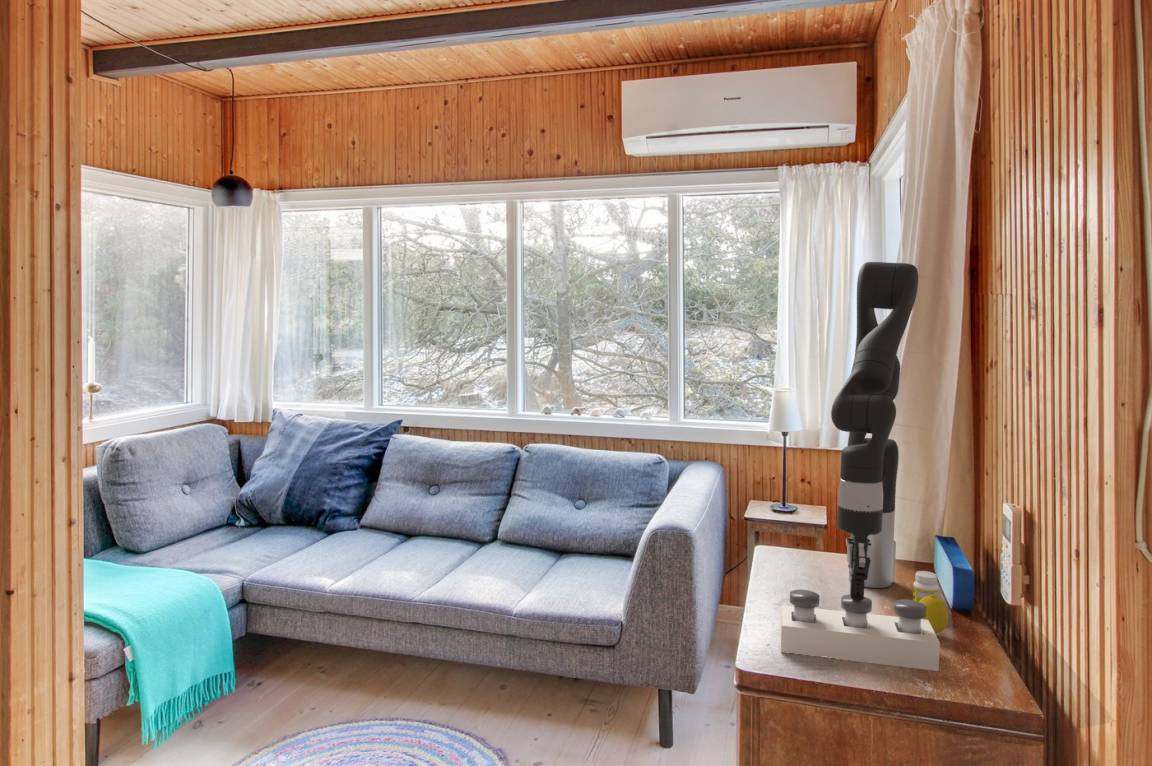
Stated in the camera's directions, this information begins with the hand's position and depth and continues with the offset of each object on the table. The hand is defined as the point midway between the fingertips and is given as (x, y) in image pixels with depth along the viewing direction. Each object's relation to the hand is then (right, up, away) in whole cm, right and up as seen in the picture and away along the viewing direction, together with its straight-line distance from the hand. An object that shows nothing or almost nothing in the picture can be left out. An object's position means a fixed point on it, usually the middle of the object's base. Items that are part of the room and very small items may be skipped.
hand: (856, 598), depth 132 cm
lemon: (+17, -9, +7) cm, 20 cm away
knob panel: (0, -10, +1) cm, 10 cm away
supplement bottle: (+21, -9, +17) cm, 28 cm away
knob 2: (+9, -6, -2) cm, 11 cm away
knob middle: (0, -6, +1) cm, 6 cm away
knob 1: (-9, -6, +3) cm, 11 cm away
